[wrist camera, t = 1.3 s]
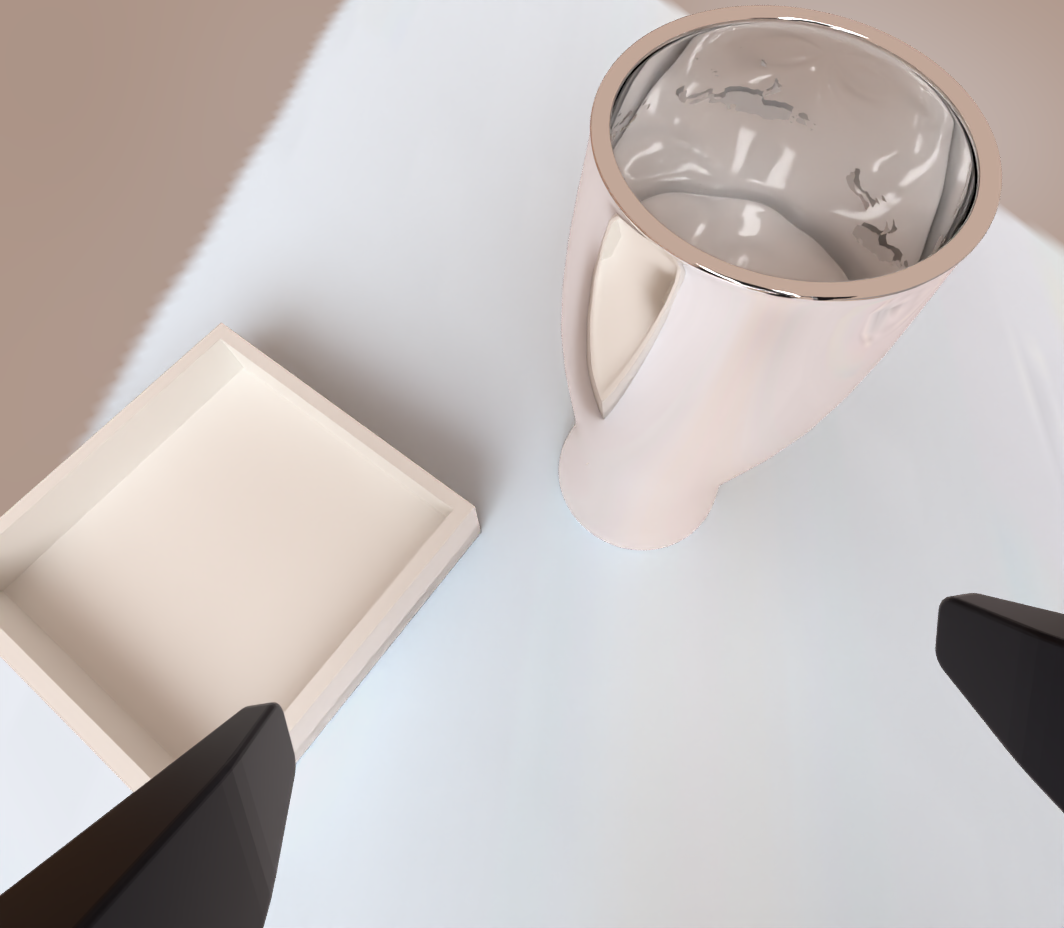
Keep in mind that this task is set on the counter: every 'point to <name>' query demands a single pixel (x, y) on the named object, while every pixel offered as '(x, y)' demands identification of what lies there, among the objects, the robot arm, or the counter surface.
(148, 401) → the tray
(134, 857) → the robot arm
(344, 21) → the counter surface
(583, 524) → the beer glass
